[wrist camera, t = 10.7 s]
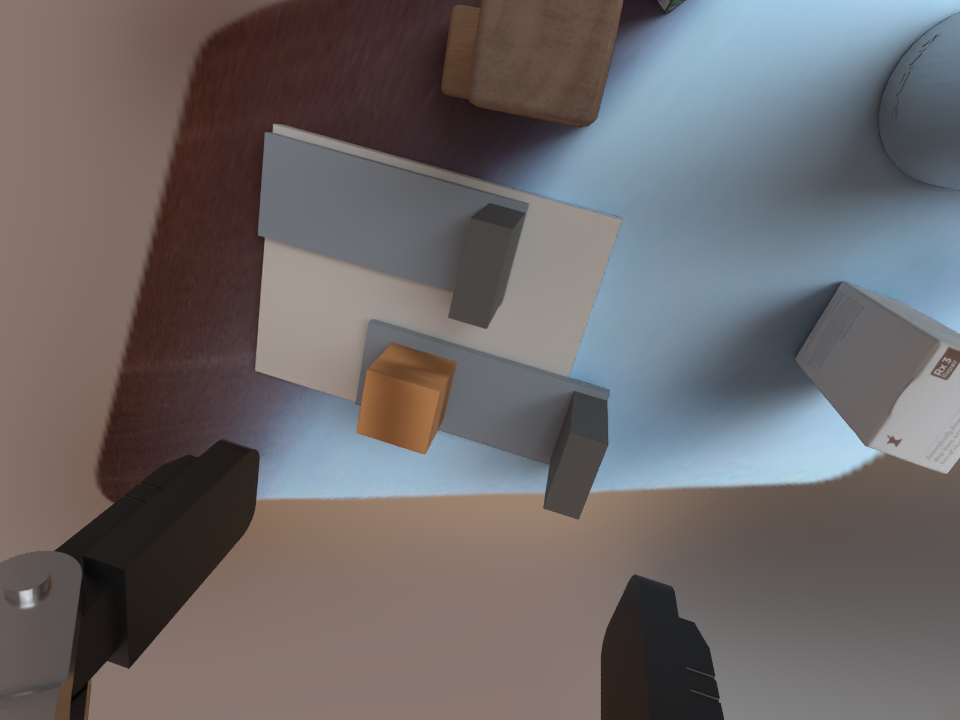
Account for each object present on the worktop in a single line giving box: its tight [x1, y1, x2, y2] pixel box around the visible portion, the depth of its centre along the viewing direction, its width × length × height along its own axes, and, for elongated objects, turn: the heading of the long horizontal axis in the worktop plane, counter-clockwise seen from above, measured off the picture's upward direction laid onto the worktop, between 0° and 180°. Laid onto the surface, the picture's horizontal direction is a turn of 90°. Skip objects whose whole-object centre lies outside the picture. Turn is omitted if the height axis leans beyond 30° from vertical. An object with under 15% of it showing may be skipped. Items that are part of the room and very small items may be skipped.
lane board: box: [255, 124, 622, 402], centre depth 42 cm, size 24×19×1 cm
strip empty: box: [258, 132, 529, 329], centre depth 36 cm, size 18×7×7 cm, turn 76°
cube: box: [356, 342, 457, 454], centre depth 41 cm, size 5×5×5 cm
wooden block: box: [441, 0, 623, 127], centre depth 27 cm, size 9×4×18 cm, turn 80°
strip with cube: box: [355, 319, 610, 519], centre depth 40 cm, size 18×7×7 cm, turn 76°
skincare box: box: [795, 282, 960, 473], centre depth 32 cm, size 6×4×12 cm
